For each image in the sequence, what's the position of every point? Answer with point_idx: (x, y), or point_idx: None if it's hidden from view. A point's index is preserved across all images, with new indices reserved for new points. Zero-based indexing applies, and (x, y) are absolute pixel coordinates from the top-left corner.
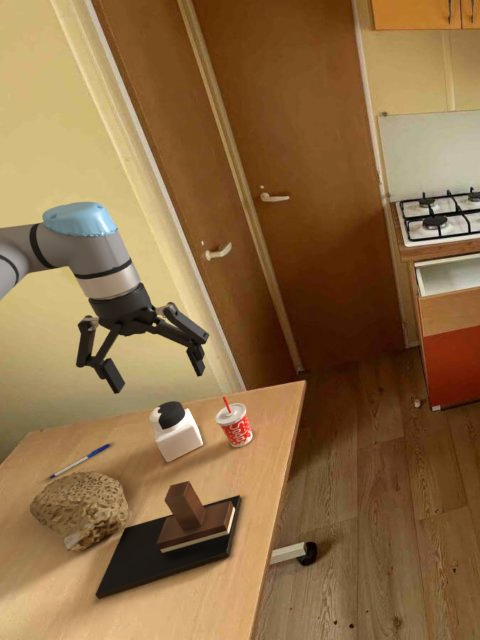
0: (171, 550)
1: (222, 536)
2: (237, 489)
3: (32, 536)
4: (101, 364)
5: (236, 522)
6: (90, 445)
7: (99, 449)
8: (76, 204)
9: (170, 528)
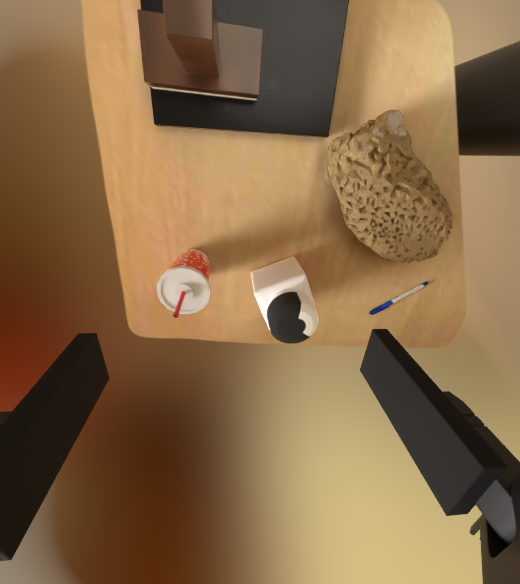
0: None
1: None
2: (172, 154)
3: None
4: (495, 487)
5: None
6: (390, 320)
7: (380, 309)
8: None
9: (245, 60)
